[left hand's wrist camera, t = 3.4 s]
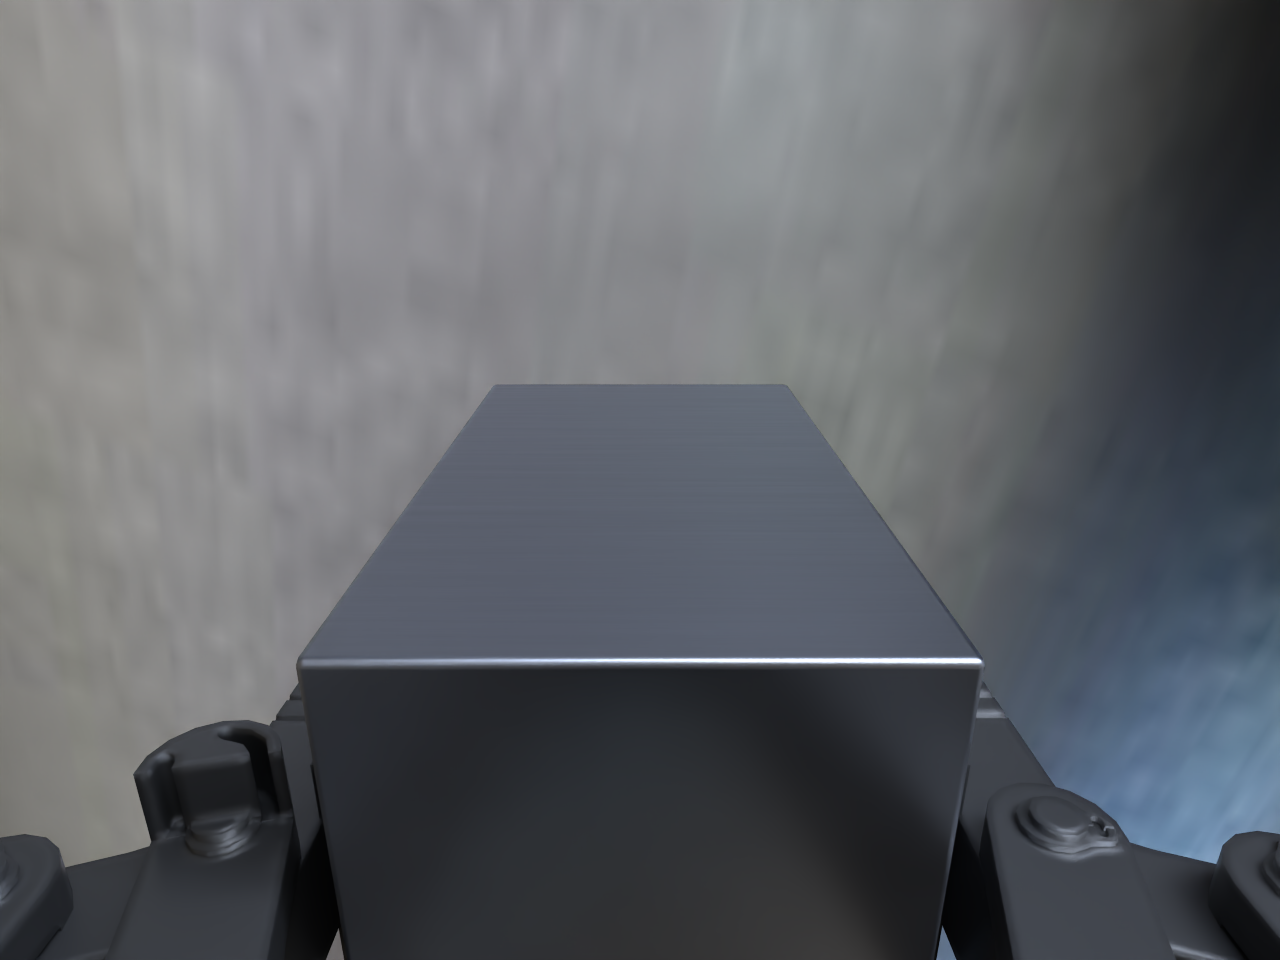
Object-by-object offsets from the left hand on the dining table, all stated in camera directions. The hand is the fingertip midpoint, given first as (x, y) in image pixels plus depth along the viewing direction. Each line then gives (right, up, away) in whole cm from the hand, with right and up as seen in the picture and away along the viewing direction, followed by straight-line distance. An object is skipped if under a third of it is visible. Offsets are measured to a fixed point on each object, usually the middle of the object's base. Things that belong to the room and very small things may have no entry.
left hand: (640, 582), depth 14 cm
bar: (0, -7, +3) cm, 8 cm away
